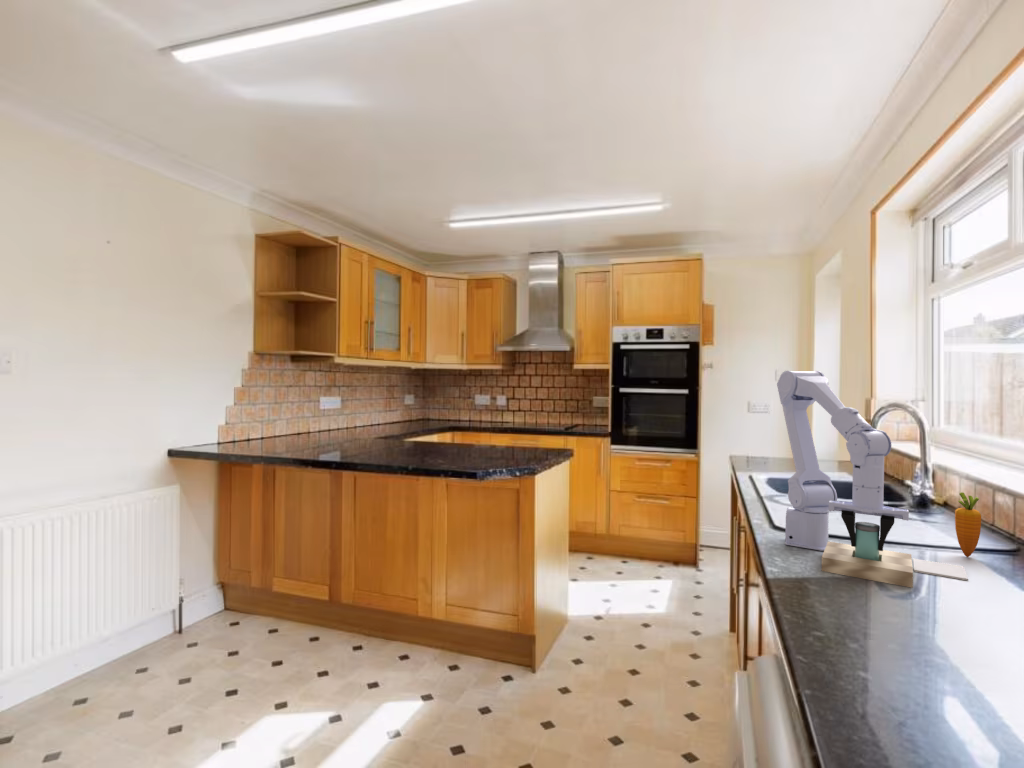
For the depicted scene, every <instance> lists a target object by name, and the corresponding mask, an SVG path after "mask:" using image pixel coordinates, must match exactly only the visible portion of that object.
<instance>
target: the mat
mask: <svg viewBox="0 0 1024 768" xmlns="http://www.w3.org/2000/svg"><path fill="white" fill-rule="evenodd" d="M912 566H913V573H914V572H916V573H921V574H926V575H933V576H938V577H944V578H950V579H957V580H962V581H967V582H968V581H969V578H968V574H967V572H966V570H965V569H966V568H965V566H962V565H956V564H950V563H944V562H938V561H937V562H936V561H933V560H924V559H919V558H914V557H913V558H912Z"/></svg>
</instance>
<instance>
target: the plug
mask: <svg viewBox="0 0 1024 768" xmlns="http://www.w3.org/2000/svg"><path fill="white" fill-rule="evenodd" d="M879 541H880V524H877V523H874V522H867V521H855V557H857V558H863V559H869V560H875V561H879Z"/></svg>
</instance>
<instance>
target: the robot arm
mask: <svg viewBox="0 0 1024 768" xmlns="http://www.w3.org/2000/svg"><path fill="white" fill-rule="evenodd" d="M776 387H777V392H778V396H779V401H780V404H781V405H782V412H783V416H784V420H785V425H786V430H787V436H788V439H789V445H790V449H791V454H792V459H793V463H794V468H795V473H793V474H792V476H791V477H789V478H788V479H787V485H788V491H787V497H788V501H789V503H790V505H791V506H792V507H790V506H789V507H787V508H786V513H785V532H784V534H785V535H784V536H785V542H784V545H785V546H792V547H798V548H803V549H809V550H816V551H821V552H824V550H825V548H826V545H827V543H828V541H829V521H830V520H829V517H830V515H829V514H830V512H835V511H837V512H841V514H840V515H841V520H842V521H843V523H844V525H845V527H846V529H847V532H848V536H849V539H850V545H851V546H853V547H855V523H856V514H857V515H858V514H860V515H867V516H873V517H874V516H875V517H879V526H880V531H879V551H883V550H884V545H885V542H886V539H887V537H888V534H889V533H890V532H891V529H892V528H893V526H894V524H895V519H898V520H902V521H907V522H908V521H909V520H910V519H909V516H910V513H909V509H906V508H905V509H903V508H899V507H892V506H886V505H884V499H885V497H884V492H885V491H884V489H885V487H884V485H885V457H887V456H888V455H889V454H890V452H891V451H892V441H891V438H890V436H889V435H888V434H887V432H886V431H884V430H881V429H876V428H875V427H872V425H871V424H870V423H868V421H866V419H865V418H863V416H861V414H860V412H859V410H858V409H857V408H854V407H850V406H848V407H847V406H845V405H844V403H843V402H842V400H840V398H839V397H838V396H837V394H835V393H834V391H833V390H832V389H831V387H830V386H829V378H828V377H826V376H825V373H823V372H822V371H820V370H813V371H810V370H808V371H807V370H805V371H804V370H803V371H802V370H801V371H799V370H797V371H796V370H795V371H792V370H785V371H783V372H782V373H781V374H780V376H779V378H778V381H777V383H776ZM815 402H816V403H818V404H819V406H820V407H822V408H823V409H824V411H826V412H827V413H828V414H829V415H830V416H831V417H830V423H831V425H832V426H833V427H834V428H835V430H836V431H837V432H838V433H839V434H840V435H841V436H842V437H843V439H845V441H846V442H845V443H846V449H847V451H848V453H849V458H850V459H849V460H850V463H851V464H852V492H851V493H852V494H851V495H852V496H851V497H852V499H851V501H839V500H838V494H837V490H836V488H835V487H834V485H833V483H832V479H831V477H830V476H829V475H828V474H826V473H825V472H823V471H822V470H821V469H820V466H819V460H818V456H817V451H816V447H815V441H814V438H813V433H812V429H811V425H810V420H809V417H808V411H807V410H808V408H809V407H810V406H811V405H813V404H814V403H815Z"/></svg>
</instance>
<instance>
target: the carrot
mask: <svg viewBox="0 0 1024 768" xmlns="http://www.w3.org/2000/svg"><path fill="white" fill-rule="evenodd" d="M959 496H960V498H961V499H962V500H957V501H958V503H959V504H960V505H961V506H962V507H958V508H956V509H955V510H954V526H955V533H956V539H957V542H958V545H959V546H960V550H961V551H962V553H963V555H964V556H965V557H967V558H968V557H971V555H972V554H973V553H974V552H975V550H976V549H977V546H978V543H979V539H980V536H981V529H982V514H981V512H980V511H979V510H977V509H974V507H975V505H976V504H977V502H978V501H979V500H980V498H979V497H977V496H976V497H975V498H974V497H973V495H968V497H967V496H966V494H965V493H964V492H963V491H962V492H959Z"/></svg>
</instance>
